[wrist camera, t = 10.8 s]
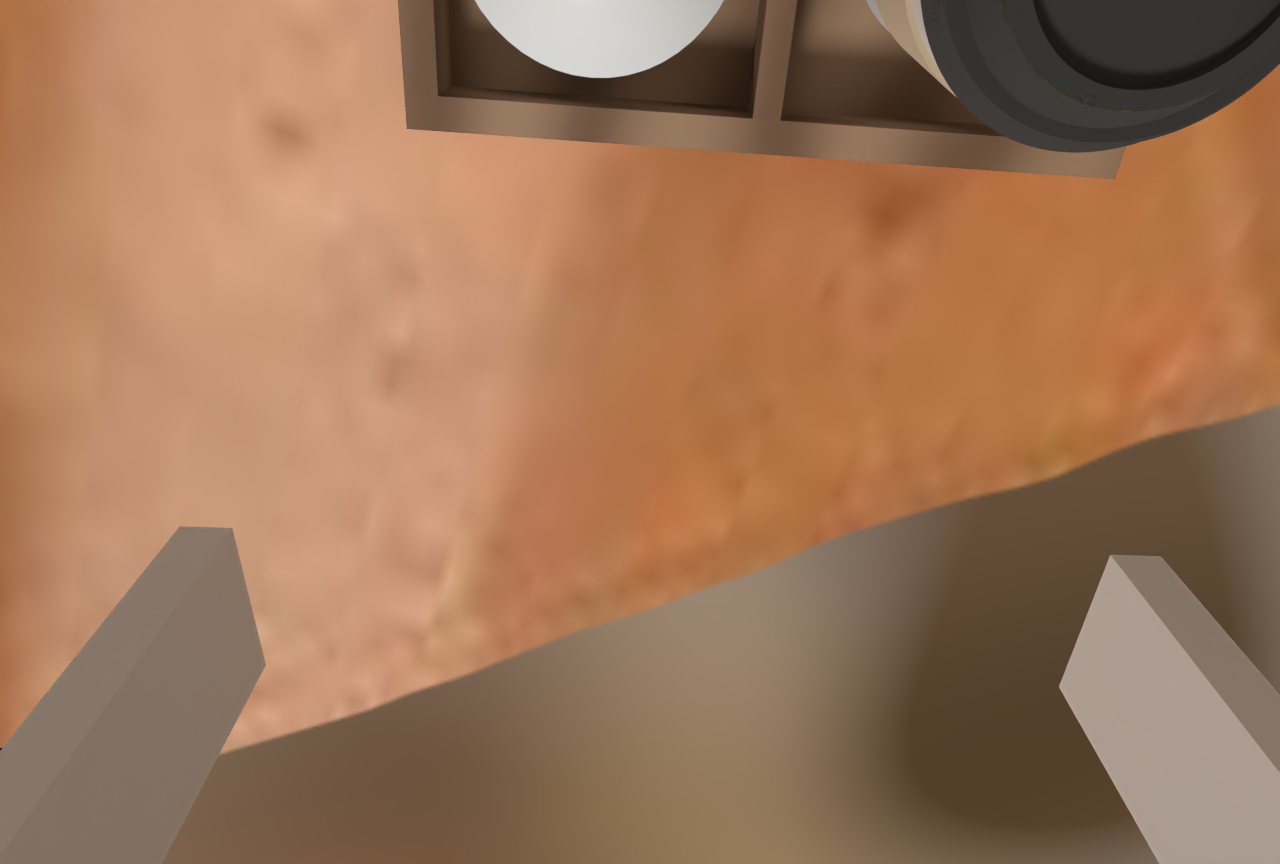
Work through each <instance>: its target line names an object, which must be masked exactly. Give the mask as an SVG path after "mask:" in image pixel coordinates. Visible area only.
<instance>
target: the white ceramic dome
mask: <svg viewBox="0 0 1280 864" xmlns="http://www.w3.org/2000/svg"><path fill="white" fill-rule="evenodd" d="M723 1H724V0H475V2H476V3H477V5H478V7H479V8H480V10H481V11H482V12H483V14H484V15H485V16H486V18H487V19H488V20H489V21H490V23H491V24H492V25H493V27H494V28H495V29H496V30H497V31H498V32H499V33H500V34H501V35H502V36H503V37H504V38H505V39H506V40H507V41H508V42H510V43H511V44H512V45H513V46H515V47H516V48H517V49H518V50H520V51H521V52H522V53H524V54H525V55H527V56H529V57H530V58H532V59H534V60H535V61H537V62H539V63H541V64H543V65H545V66H548V67H550V68H552V69H554V70H557V71H561V72H564V73H568V74H571V75H576V76H583V77H590V78H612V77H619V76H626V75H630V74H634V73H637V72H641V71H644V70H647V69H649V68H651V67H654V66H656V65H658V64H660V63H662V62H664V61H666V60H667V59H669V58H670V57H672V56H674V55H675V54H677V53H678V52H680V51H681V50H682V49H683V48H684V47H686V46H687V45H688V44H689V43H691V42H692V41H693V40H694V39H695V38H696V37H697V36H698V35H699V34H700V32H701V31H702V30H703V29H704V28H705V27H706V26H707V25H708V23H709V22H710V21H711V19H712V18H713V16H714V15H715V14H716V12H717V11H718V10H719V8H720V6H721V4H722V2H723Z"/></svg>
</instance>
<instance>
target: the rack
mask: <svg viewBox="0 0 1280 864" xmlns="http://www.w3.org/2000/svg"><path fill="white" fill-rule="evenodd" d="M398 8H399V22H400V36H401V51H402V65H403V79H404V94H405V108H406V122H407V129H417V130H431V131H445V132H459V133H473V134H487V135H501V136H515V137H529V138H543V139H557V140H571V141H585V142H599V143H613V144H627V145H642V146H656V147H670V148H684V149H698V150H712V151H726V152H740V153H754V154H768V155H782V156H796V157H810V158H824V159H838V160H852V161H866V162H880V163H894V164H908V165H922V166H936V167H950V168H964V169H978V170H992V171H1006V172H1020V173H1035V174H1049V175H1063V176H1077V177H1091V178H1105V179H1115V177H1116V174H1117V171H1118V168H1119V165H1120V162H1121V159H1122V156H1123V153H1124V150H1125V147H1126V146H1124V147H1120V148H1115V149H1110V150H1105V151H1096V152H1082V153H1070V152H1056V151H1048V150H1043V149H1038V148H1034V147H1030V146H1027V145H1024V144H1021V143H1019V142H1016V141H1014V140H1011V139H1009V138H1007V137H1005V136H1003V135H1001V134H999V133H998V132H996V131H994V130H993V129H991V128H990V127H988V126H987V125H985V124H984V123H983V122H981V121H980V120H979V119H977V118H976V117H975V116H974V115H973V114H972V113H971V112H970V111H969V110H968V109H967V108H966V107H965V106H964V105H963V104H962V103H961V102H960V100H959V99H958V98H957V97H956V96H954V95H953V94H952V93H951V92H950V91H949V90H948V89H947V88H945V87H944V86H943V85H942V84H941V83H940V82H939V81H938V80H937V79H936V78H935V77H933V76H932V75H931V74H930V73H929V72H928V71H927V70H926V69H925V68H924V67H923V66H921V65H920V64H919V63H918V62H917V61H916V60H915V59H914V58H913V57H912V56H911V55H909V54H908V53H907V52H906V51H905V50H904V49H903V48H902V47H901V46H900V45H899V44H898V42H897V41H896V40H895V39H894V37H893V36H892V34H891V33H890V32H889V31H888V30H887V29H886V28H884V27H883V25H882V24H881V23H880V22H879V21H878V20H877V18H876V17H875V15H874V14H873V12H872V11H871V9H870V7H869V5H868V3H867V1H866V0H724V1H723V2H722V4H721V6H720V8H719V10H718V11H717V12H716V14H715V15H714V16H713V18H712V19H711V21H710V22H709V23H708V25H707V26H706V27H705V28H704V29H703V30H702V31H701V32H700V34H699V35H698V36H697V37H696V38H695V39H694V40H693V41H692V42H691V43H689V44H688V45H687V46H686V47H684V48H683V49H682V50H681V51H680V52H678V53H677V54H675V55H674V56H672V57H670V58H669V59H667V60H666V61H664V62H662V63H660V64H658V65H656V66H654V67H651V68H649V69H647V70H644V71H641V72H637V73H634V74H630V75H626V76H619V77H612V78H590V77H583V76H576V75H571V74H568V73H564V72H561V71H557V70H554V69H552V68H550V67H548V66H545V65H543V64H541V63H539V62H537V61H535V60H534V59H532V58H530V57H529V56H527V55H525V54H524V53H522V52H521V51H520V50H518V49H517V48H516V47H515V46H513V45H512V44H511V43H510V42H508V41H507V40H506V39H505V38H504V37H503V36H502V35H501V34H500V33H499V32H498V31H497V30H496V29H495V28H494V27H493V25H492V24H491V23H490V21H489V20H488V19H487V18H486V16H485V15H484V14H483V12H482V11H481V10H480V8H479V7H478V5H477V3H476V2H475V0H398Z"/></svg>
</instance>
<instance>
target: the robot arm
mask: <svg viewBox="0 0 1280 864" xmlns="http://www.w3.org/2000/svg"><path fill="white" fill-rule="evenodd" d="M265 665H266V664H265V660H264V656H263V652H262V648H261V644H260V640H259V636H258V632H257V628H256V623H255V619H254V615H253V611H252V607H251V603H250V599H249V595H248V591H247V587H246V583H245V579H244V575H243V571H242V566H241V562H240V558H239V554H238V550H237V546H236V542H235V538H234V534H233V530H232V528H212V527H179V528H178V529H177V531H176V532H175V533H174V534H173V536H172V537H171V538H170V539H169V541H168V542H167V543H166V544H165V546H164V547H163V548H162V549H161V551H160V552H159V553H158V554H157V556H156V557H155V558H154V559H153V561H152V562H151V563H150V564H149V566H148V567H147V568H146V569H145V571H144V572H143V573H142V574H141V576H140V577H139V578H138V579H137V581H136V582H135V583H134V584H133V586H132V587H131V588H130V589H129V591H128V592H127V593H126V594H125V596H124V597H123V598H122V599H121V601H120V602H119V603H118V604H117V606H116V607H115V608H114V609H113V611H112V612H111V613H110V614H109V616H108V617H107V618H106V619H105V621H104V622H103V623H102V624H101V626H100V627H99V628H98V629H97V631H96V632H95V633H94V634H93V636H92V637H91V638H90V639H89V641H88V642H87V643H86V644H85V646H84V647H83V648H82V649H81V651H80V652H79V653H78V654H77V656H76V657H75V658H74V659H73V661H72V662H71V663H70V664H69V666H68V667H67V668H66V669H65V671H64V672H63V673H62V674H61V676H60V677H59V678H58V679H57V681H56V682H55V683H54V684H53V686H52V687H51V688H50V689H49V691H48V692H47V693H46V694H45V696H44V697H43V698H42V699H41V701H40V702H39V703H38V704H37V706H36V707H35V708H34V709H33V711H32V712H31V713H30V714H29V716H28V717H27V718H26V719H25V721H24V722H23V723H22V724H21V726H20V727H19V728H18V729H17V731H16V732H15V733H14V734H13V736H12V737H11V738H10V739H9V741H8V742H7V743H6V744H5V746H4V747H3V748H0V864H162V862H163V860H164V858H165V856H166V854H167V852H168V850H169V848H170V846H171V844H172V842H173V840H174V839H175V837H176V835H177V833H178V831H179V829H180V827H181V825H182V823H183V821H184V819H185V818H186V816H187V814H188V812H189V810H190V808H191V806H192V804H193V803H194V801H195V799H196V797H197V795H198V793H199V791H200V789H201V787H202V785H203V783H204V782H205V780H206V778H207V776H208V774H209V772H210V770H211V768H212V766H213V764H214V763H215V761H216V759H217V757H218V755H219V753H220V751H221V749H222V747H223V745H224V743H225V742H226V740H227V738H228V736H229V734H230V732H231V730H232V728H233V726H234V724H235V722H236V721H237V719H238V717H239V715H240V713H241V711H242V709H243V707H244V705H245V703H246V702H247V700H248V698H249V696H250V694H251V692H252V690H253V688H254V686H255V684H256V682H257V681H258V679H259V677H260V675H261V673H262V671H263V669H264V667H265ZM1059 688H1060V690H1061V691H1062V693H1063V695H1064V696H1065V698H1066V700H1067V702H1068V703H1069V705H1070V707H1071V709H1072V710H1073V712H1074V714H1075V716H1076V718H1077V719H1078V721H1079V723H1080V725H1081V726H1082V728H1083V730H1084V732H1085V733H1086V735H1087V737H1088V739H1089V740H1090V742H1091V744H1092V746H1093V748H1094V749H1095V751H1096V753H1097V755H1098V756H1099V758H1100V760H1101V762H1102V763H1103V765H1104V767H1105V768H1106V770H1107V772H1108V774H1109V775H1110V777H1111V779H1112V781H1113V783H1114V785H1115V786H1116V788H1117V790H1118V791H1119V793H1120V795H1121V797H1122V799H1123V800H1124V802H1125V804H1126V805H1127V807H1128V809H1129V811H1130V813H1131V814H1132V816H1133V818H1134V819H1135V822H1136V823H1137V825H1138V826H1139V829H1140V830H1141V832H1142V834H1143V835H1144V837H1145V839H1146V841H1147V843H1148V844H1149V846H1150V848H1151V850H1152V851H1153V853H1154V855H1155V857H1156V858H1157V860H1158V862H1159V864H1280V695H1279V694H1278V693H1277V691H1276V690H1275V689H1274V688H1273V687H1272V686H1271V684H1270V683H1269V682H1268V681H1267V680H1266V679H1265V677H1264V676H1263V675H1262V674H1261V673H1260V672H1259V670H1258V669H1257V668H1256V667H1255V666H1254V665H1253V663H1252V662H1251V661H1250V660H1249V659H1248V658H1247V656H1246V655H1245V654H1244V653H1243V652H1242V651H1241V649H1240V648H1239V647H1238V646H1237V645H1236V644H1235V642H1234V641H1233V640H1232V639H1231V638H1230V637H1229V635H1228V634H1227V633H1226V632H1225V631H1224V630H1223V628H1222V627H1221V626H1220V625H1219V624H1218V623H1217V622H1216V620H1215V619H1214V618H1213V617H1212V616H1211V615H1210V613H1209V612H1208V611H1207V610H1206V609H1205V608H1204V606H1203V605H1202V604H1201V603H1200V602H1199V601H1198V599H1197V598H1196V597H1195V596H1194V595H1193V594H1192V592H1191V591H1190V590H1189V589H1188V588H1187V587H1186V585H1185V584H1184V583H1183V582H1182V581H1181V580H1180V578H1179V577H1178V576H1177V575H1176V574H1175V573H1174V571H1173V570H1172V569H1171V568H1170V567H1169V566H1168V564H1167V563H1166V562H1165V561H1164V560H1163V559H1162V557H1160V556H1128V555H1110V557H1109V560H1108V563H1107V565H1106V568H1105V571H1104V573H1103V576H1102V578H1101V581H1100V583H1099V586H1098V589H1097V591H1096V593H1095V596H1094V599H1093V601H1092V604H1091V606H1090V609H1089V611H1088V614H1087V617H1086V619H1085V622H1084V624H1083V627H1082V629H1081V632H1080V635H1079V637H1078V640H1077V642H1076V645H1075V647H1074V650H1073V652H1072V655H1071V658H1070V660H1069V663H1068V665H1067V668H1066V670H1065V673H1064V676H1063V678H1062V681H1061V683H1060V686H1059Z"/></svg>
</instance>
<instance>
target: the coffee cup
mask: <svg viewBox="0 0 1280 864" xmlns="http://www.w3.org/2000/svg"><path fill="white" fill-rule="evenodd" d="M866 1H867V3H868V5H869V7H870V9H871V11H872V12H873V14H874V15H875V17H876V18H877V20H878V21H879V22H880V23H881V24H882V25H883V27H884V28H886V29H887V30H888V31H889V32H890V33H891V34H892V36H893V37H894V39H895V40H896V41H897V42H898V44H899V45H900V46H901V47H902V48H903V49H904V50H905V51H906V52H907V53H908V54H909V55H911V56H912V57H913V58H914V59H915V60H916V61H917V62H918V63H919V64H920V65H921V66H923V67H924V68H925V69H926V70H927V71H928V72H929V73H930V74H931V75H932V76H933V77H935V78H936V79H937V80H938V81H939V82H940V83H941V84H942V85H943V86H944V87H945V88H947V89H948V90H949V91H950V92H951V93H952V94H953V95H954V96H956V97H957V98H958V99H959V100H960V102H961V103H962V104H963V105H964V106H965V107H966V108H967V109H968V110H969V111H970V112H971V113H972V114H973V115H974V116H975V117H976V118H977V119H979V120H980V121H981V122H983V123H984V124H985V125H987V126H988V127H990V128H991V129H993V130H994V131H996V132H998V133H999V134H1001V135H1003V136H1005V137H1007V138H1009V139H1011V140H1014V141H1016V142H1019V143H1021V144H1024V145H1027V146H1030V147H1034V148H1038V149H1043V150H1048V151H1056V152H1070V153H1082V152H1096V151H1105V150H1110V149H1115V148H1120V147H1124V146H1128V145H1132V144H1135V143H1138V142H1141V141H1145V140H1149V139H1153V138H1157V137H1160V136H1163V135H1166V134H1169V133H1172V132H1175V131H1178V130H1180V129H1183V128H1185V127H1187V126H1190V125H1192V124H1194V123H1196V122H1198V121H1200V120H1202V119H1204V118H1206V117H1208V116H1210V115H1212V114H1214V113H1215V112H1217V111H1219V110H1220V109H1222V108H1224V107H1225V106H1227V105H1229V104H1230V103H1232V102H1233V101H1235V100H1236V99H1238V98H1239V97H1240V96H1242V95H1243V94H1245V93H1246V92H1247V91H1249V90H1250V89H1251V88H1252V87H1254V86H1255V85H1256V84H1257V83H1259V82H1260V81H1261V80H1262V79H1263V78H1265V77H1266V76H1267V75H1268V74H1269V73H1270V72H1271V71H1272V70H1274V69H1275V68H1276V67H1277V66H1278V65H1279V64H1280V0H866Z"/></svg>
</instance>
